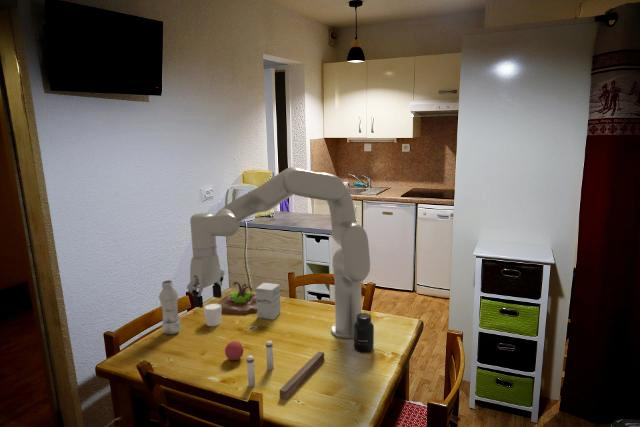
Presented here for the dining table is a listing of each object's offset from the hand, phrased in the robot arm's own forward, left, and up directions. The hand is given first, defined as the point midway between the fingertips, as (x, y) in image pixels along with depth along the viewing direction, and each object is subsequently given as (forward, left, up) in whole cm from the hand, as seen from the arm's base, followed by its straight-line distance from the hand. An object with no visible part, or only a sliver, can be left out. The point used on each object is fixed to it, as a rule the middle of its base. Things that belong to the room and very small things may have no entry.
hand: (208, 301), depth 147 cm
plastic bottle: (+24, -6, -19) cm, 31 cm away
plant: (+16, -38, -19) cm, 45 cm away
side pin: (-24, +10, -18) cm, 32 cm away
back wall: (-36, 0, -18) cm, 40 cm away
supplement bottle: (-46, -24, -19) cm, 55 cm away
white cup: (+15, -19, -19) cm, 31 cm away
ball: (-10, 0, -15) cm, 18 cm away
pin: (-24, 0, -18) cm, 30 cm away
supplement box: (-1, -34, -19) cm, 39 cm away
